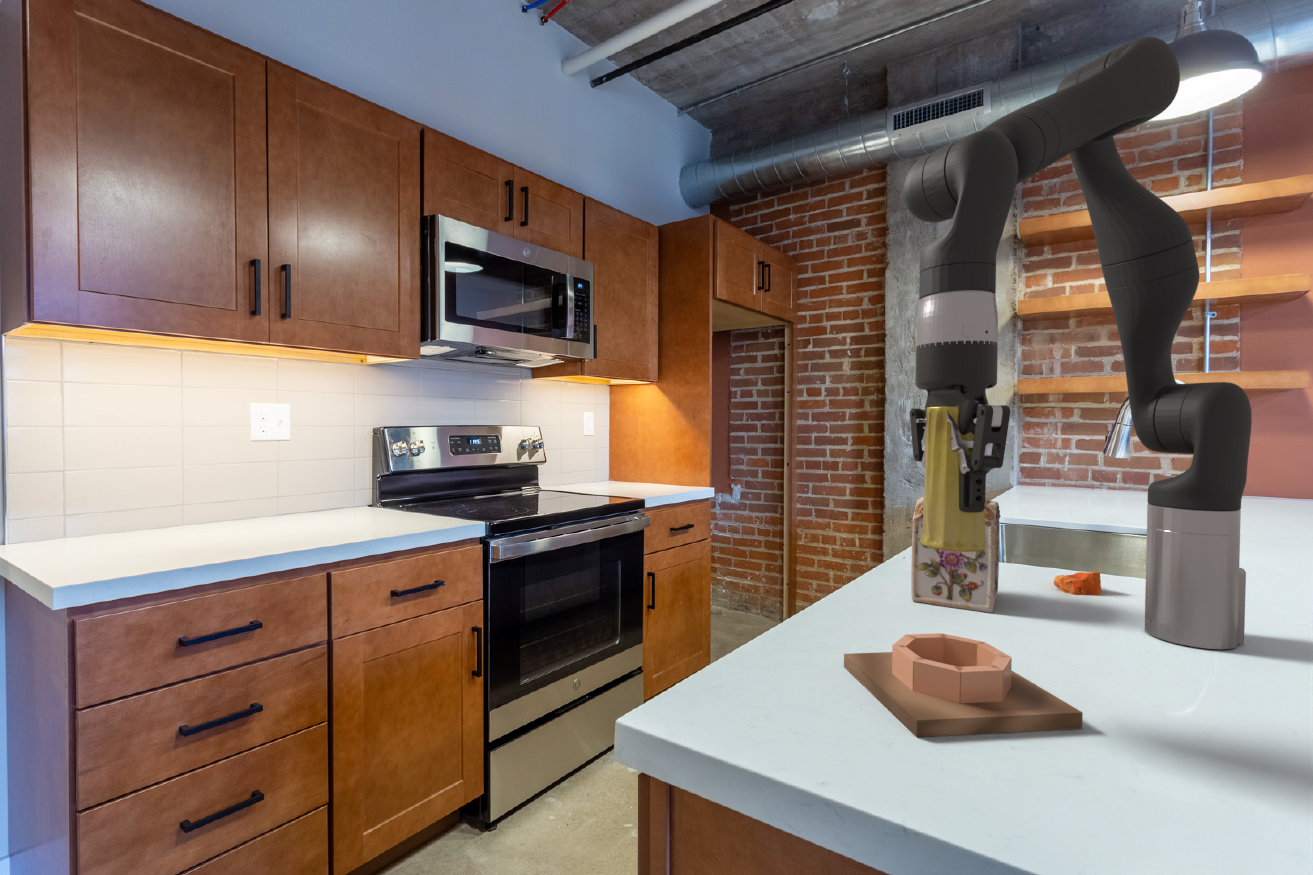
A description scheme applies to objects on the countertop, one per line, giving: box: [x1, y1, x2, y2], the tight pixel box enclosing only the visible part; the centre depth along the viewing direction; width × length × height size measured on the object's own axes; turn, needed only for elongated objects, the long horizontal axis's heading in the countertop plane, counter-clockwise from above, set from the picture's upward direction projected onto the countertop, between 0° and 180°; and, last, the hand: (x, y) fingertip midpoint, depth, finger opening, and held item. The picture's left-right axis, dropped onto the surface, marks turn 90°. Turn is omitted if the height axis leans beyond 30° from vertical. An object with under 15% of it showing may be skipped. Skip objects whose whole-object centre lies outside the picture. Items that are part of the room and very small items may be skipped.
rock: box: [1053, 570, 1103, 596], centre depth 104 cm, size 12×12×4 cm
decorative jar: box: [910, 495, 1001, 614], centre depth 99 cm, size 12×12×18 cm
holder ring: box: [891, 632, 1013, 703], centre depth 64 cm, size 10×10×3 cm
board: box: [843, 651, 1083, 738], centre depth 64 cm, size 16×16×2 cm
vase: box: [920, 407, 986, 552], centre depth 64 cm, size 6×6×14 cm
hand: (953, 507), depth 64 cm, fingers closed on vase, 5 cm apart
